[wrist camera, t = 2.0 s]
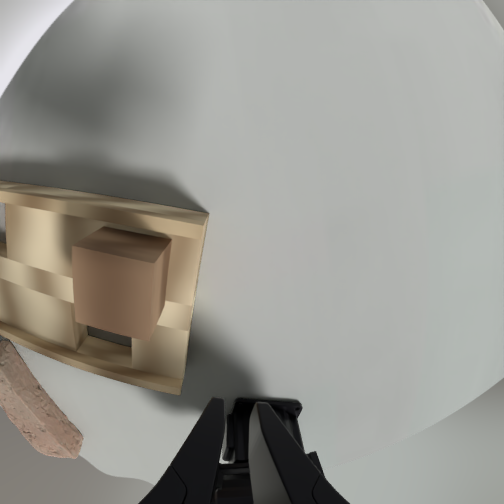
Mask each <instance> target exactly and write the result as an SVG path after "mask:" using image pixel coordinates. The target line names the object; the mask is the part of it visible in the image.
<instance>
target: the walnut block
mask: <svg viewBox="0 0 504 504" xmlns="http://www.w3.org/2000/svg"><path fill="white" fill-rule="evenodd" d="M171 244H172V239H167V238H162V237H157V236H152V235H147V234H141V233H136V232H131V231H126V230H121V229H116V228H110V227H105V226H103V227H102V228H100V229H98V230H97V231H95V232H93V233H92V234H90V235H88V236H87V237H85V238H83V239H82V240H80V241H78V242H77V243H75V244H74V245H72V278H73V296H74V309H75V319H76V322H78V323H81V324H84V325H88V326H91V327H94V328H98V329H101V330H105V331H109V332H112V333H116V334H120V335H123V336H127V337H131V338H135V339H139V340H144V341H148V342H149V341H150V339H151V336H152V334H153V332H154V329H155V327H156V325H157V322H158V320H159V318H160V315H161V313H162V311H163V308H164V306H165V296H166V286H167V277H168V268H169V260H170V252H171Z"/></svg>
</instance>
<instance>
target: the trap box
mask: <svg viewBox="0 0 504 504" xmlns="http://www.w3.org/2000/svg"><path fill="white" fill-rule="evenodd" d="M0 202H2V203H5V220H6V243H3V242H0V335H1V336H3V337H5V338H7V339H9V340H11V341H13V342H15V343H18V344H20V345H22V346H24V347H26V348H28V349H31V350H33V351H35V352H38V353H40V354H42V355H45V356H47V357H50V358H52V359H55V360H57V361H60V362H62V363H65V364H68V365H71V366H73V367H76V368H79V369H82V370H85V371H88V372H91V373H94V374H97V375H100V376H103V377H107V378H110V379H113V380H117V381H120V382H124V383H128V384H131V385H135V386H139V387H143V388H147V389H152V390H156V391H160V392H165V393H170V394H175V395H180V394H181V389H182V384H183V378H184V373H185V368H186V361H187V353H188V345H189V337H190V330H191V323H192V315H193V308H194V302H195V295H196V288H197V282H198V276H199V269H200V263H201V257H202V251H203V246H204V240H205V234H206V229H207V223H208V218H209V213H204V212H198V211H193V210H188V209H182V208H177V207H171V206H165V205H160V204H154V203H148V202H142V201H137V200H131V199H125V198H118V197H112V196H106V195H100V194H93V193H87V192H80V191H74V190H67V189H60V188H53V187H46V186H38V185H31V184H23V183H15V182H7V181H0ZM103 226H105V227H110V228H116V229H121V230H126V231H131V232H136V233H141V234H147V235H152V236H157V237H162V238H167V239H172V244H171V252H170V260H169V268H168V277H167V286H166V296H165V306H164V308H163V311H162V313H161V315H160V318H159V320H158V322H157V325H156V327H155V329H154V332H153V334H152V336H151V339H150V341H149V342H148V341H144V340H139V339H135V338H132V347H128V346H124V345H120V344H116V343H113V342H109V341H106V340H102V339H99V338H95V337H92V336H89V335H88V330H87V325H84V324H81V323H78V322H76V319H75V309H74V296H73V278H72V245H74V244H75V243H77V242H78V241H80V240H82V239H83V238H85V237H87V236H88V235H90V234H92V233H93V232H95V231H97V230H98V229H100V228H102V227H103Z"/></svg>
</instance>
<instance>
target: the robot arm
mask: <svg viewBox="0 0 504 504" xmlns="http://www.w3.org/2000/svg"><path fill="white" fill-rule="evenodd" d="M301 411H302V404H301V403H292V402H276V401H263V400H252V399H243V398H238V399H236V400H235V401H234V405H233V408H232V412H231V414H228V415H227V416H226V419H225V399H224V398H220V397H212V398H211V400H210V402H209V403H208V405H207V407H206V408H205V410H204V411H203V413H202V415H201V416H200V418H199V420H198V421H197V423H196V424H195V426H194V428H193V429H192V431H191V433H190V434H189V436H188V437H187V439H186V440H185V442H184V444H183V445H182V447H181V448H180V450H179V452H178V453H177V455H176V456H175V458H174V459H173V461H172V462H171V464H170V466H169V467H168V468H167V470H166V471H165V473H164V474H163V476H162V477H161V478H160V480H159V481H158V483H157V484H156V485H155V486H154V487H153V489H152V490H151V491H150V492H149V493H148V494H147V495H146V496H145V497H144V498H143V499H142V500H141V501H140V502H139V503H138V504H350V503H349V502H348V501H346V500H345V499H344V498H343V497H342V496H341V495H340V494H339V493H338V492H337V491H336V490H335V489H334V488H333V487H332V485H331V484H330V483H329V482H328V481H327V480H326V478H325V476H324V473H323V470H322V467H321V464H320V461H319V459H318V456H317V453H316V451H314V452H310V453H309V454H306V453H305V451H304V447H303V442H302V438H301V433H300V429H299V424H298V420H297V418H298V416H299V414H300V413H301ZM222 444H223V447H222ZM221 449H222V459H223V460H224V461H229V464H221V463H219V460H220V454H221Z"/></svg>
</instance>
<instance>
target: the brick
mask: <svg viewBox="0 0 504 504" xmlns="http://www.w3.org/2000/svg"><path fill="white" fill-rule="evenodd" d="M0 405H1V406H2V407H3V409H4V411H5V412H6V413H7V416H8V418H9V419H10V420H11V421H12V422H13V423H14V424H15V425H16V426H17V428H18V429H19V430H20V432H21V434H22V435H23V436H25V438H26V440H28V442H29V443H30V444H31V445H32V446H33V447H34V448H35V449H36V450H37V451H39V452H40V453H42V454H44V455H47V456H53V457H54V456H55V457H60V458H61V457H63V458H66V457H69V458H73V459H75V458H76V457H77V456H78V454H79V452H80V449H81V445H82V441H83V436H82V435H81V434H80V432H79V431H78V430H77V428H76V427H75V426H74V425H73V424H72V423H71V422H70V421H69V420H68V418H67V416H65V415H64V414H63V413H62V411H61V410H60V409H59V407H58V406H57V405H56V404H55V403H54V401H53V400H52V399H51V398H50V397H49V395H48V394H47V393H46V392H45V390H44V389H43V388H42V387H41V385H40V384H39V382H38V381H37V380H36V378H35V377H34V376H33V374H32V373H31V371H30V370H29V368H28V367H27V365H26V364H25V363H24V361H23V360H22V358H21V357H20V356H19V354H18V353H17V351H16V349H15V348H14V346H13V344H12V343H11V342H10V341H4V340H2V341H1V342H0Z"/></svg>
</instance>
